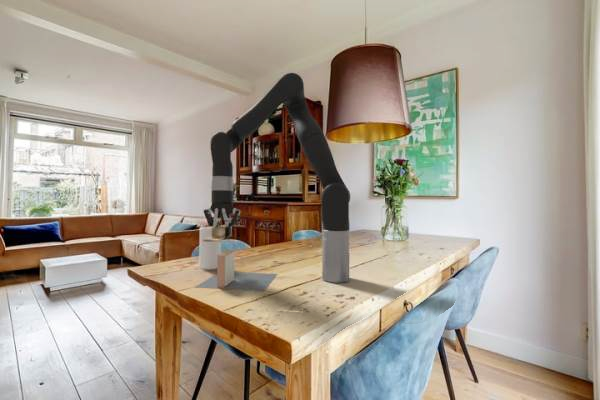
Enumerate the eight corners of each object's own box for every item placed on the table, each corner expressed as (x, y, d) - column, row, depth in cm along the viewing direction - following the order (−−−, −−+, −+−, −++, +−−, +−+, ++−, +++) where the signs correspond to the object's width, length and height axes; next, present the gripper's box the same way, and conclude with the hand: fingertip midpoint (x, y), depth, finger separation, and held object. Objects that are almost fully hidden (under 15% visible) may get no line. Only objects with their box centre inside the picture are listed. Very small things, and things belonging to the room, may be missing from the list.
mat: (277, 274, 102) (277, 274, 102) (263, 292, 83) (263, 291, 83) (220, 272, 105) (220, 271, 105) (194, 288, 86) (194, 287, 86)
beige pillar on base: (234, 235, 105) (234, 225, 105) (217, 241, 91) (217, 229, 91) (221, 235, 106) (221, 224, 106) (202, 241, 91) (202, 229, 91)
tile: (234, 280, 94) (234, 250, 94) (224, 287, 86) (225, 255, 86) (227, 279, 94) (227, 250, 94) (217, 287, 86) (217, 255, 86)
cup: (217, 270, 108) (217, 228, 108) (196, 269, 108) (196, 228, 108) (223, 265, 116) (223, 226, 116) (203, 264, 116) (204, 226, 116)
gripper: (244, 189, 103) (244, 236, 103) (208, 189, 105) (208, 235, 105) (237, 189, 95) (237, 239, 96) (198, 189, 97) (198, 238, 98)
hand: (222, 237), depth 100 cm, fingers closed on beige pillar on base, 3 cm apart
